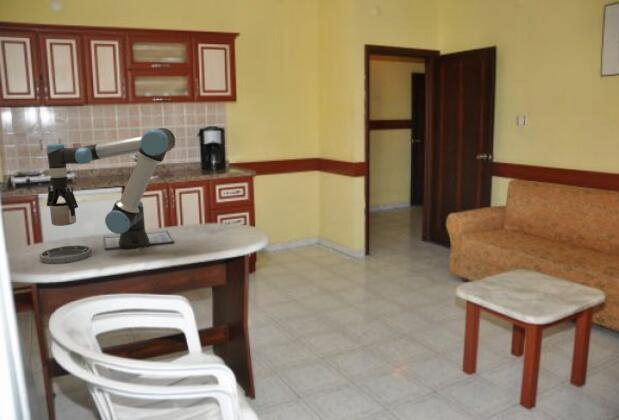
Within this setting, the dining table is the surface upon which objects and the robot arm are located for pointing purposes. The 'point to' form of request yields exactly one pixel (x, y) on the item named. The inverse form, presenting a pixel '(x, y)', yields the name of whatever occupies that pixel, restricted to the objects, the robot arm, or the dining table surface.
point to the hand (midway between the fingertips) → (64, 221)
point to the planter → (60, 214)
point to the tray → (65, 254)
